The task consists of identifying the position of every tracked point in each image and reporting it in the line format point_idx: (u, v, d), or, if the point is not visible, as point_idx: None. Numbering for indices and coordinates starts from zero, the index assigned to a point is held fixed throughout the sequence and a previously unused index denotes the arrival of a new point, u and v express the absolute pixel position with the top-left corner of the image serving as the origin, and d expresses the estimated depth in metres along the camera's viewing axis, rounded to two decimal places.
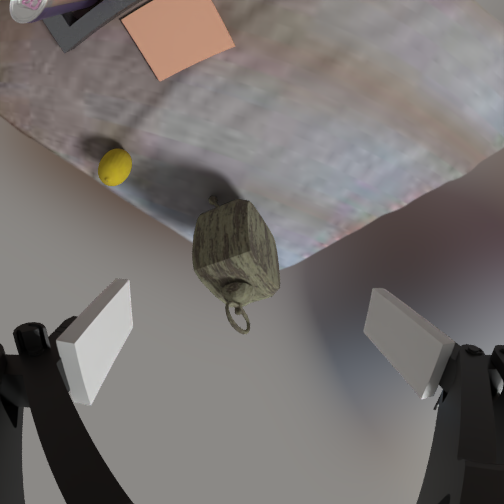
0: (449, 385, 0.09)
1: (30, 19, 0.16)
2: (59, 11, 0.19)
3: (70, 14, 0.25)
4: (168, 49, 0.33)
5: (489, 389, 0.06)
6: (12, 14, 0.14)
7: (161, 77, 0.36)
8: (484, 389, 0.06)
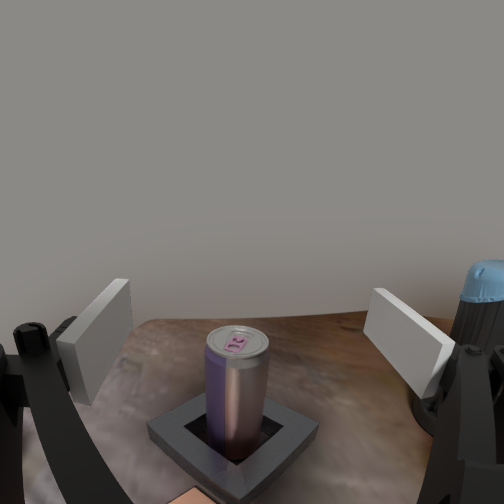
0: (449, 385, 0.09)
1: (210, 345, 0.25)
2: (213, 391, 0.25)
3: (199, 429, 0.31)
4: None
5: (489, 389, 0.06)
6: (219, 330, 0.28)
7: None
8: (484, 389, 0.06)
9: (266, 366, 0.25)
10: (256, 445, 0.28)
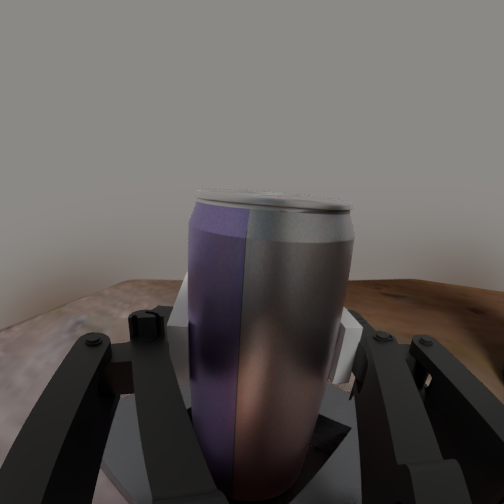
0: (361, 375, 0.10)
1: None
2: (207, 336, 0.09)
3: None
4: None
5: (411, 377, 0.08)
6: None
7: None
8: (405, 378, 0.08)
9: (350, 260, 0.10)
10: (299, 471, 0.12)
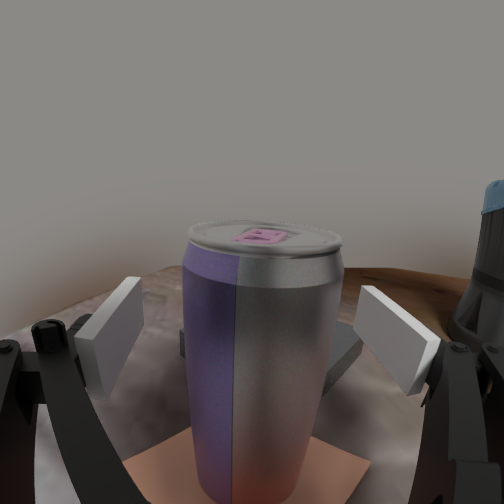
0: (436, 382, 0.09)
1: None
2: (203, 369, 0.10)
3: None
4: (194, 474, 0.14)
5: (477, 386, 0.07)
6: None
7: None
8: (472, 386, 0.07)
9: (339, 295, 0.10)
10: (295, 483, 0.12)
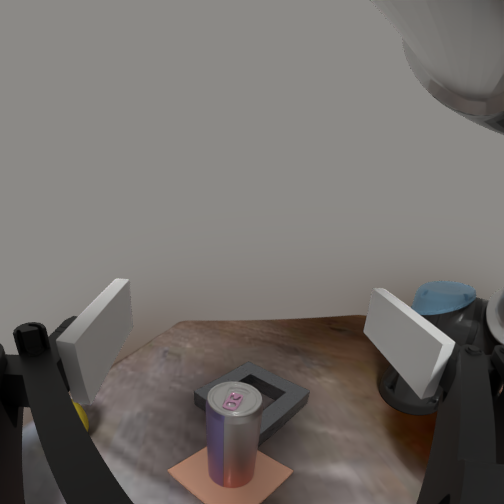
0: (449, 385, 0.09)
1: (211, 403, 0.27)
2: (213, 438, 0.27)
3: None
4: (206, 471, 0.31)
5: (489, 389, 0.06)
6: (218, 386, 0.30)
7: (172, 470, 0.30)
8: (484, 389, 0.06)
9: (259, 419, 0.27)
10: (251, 477, 0.29)
